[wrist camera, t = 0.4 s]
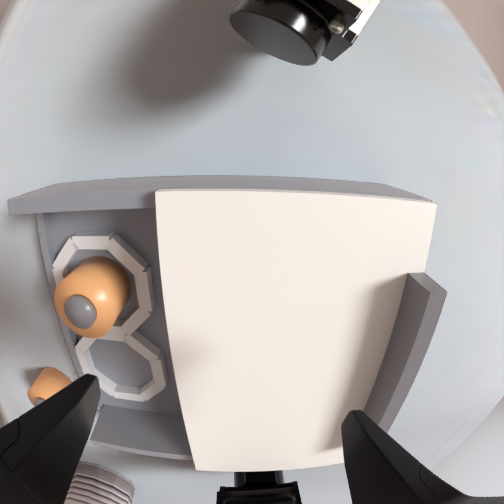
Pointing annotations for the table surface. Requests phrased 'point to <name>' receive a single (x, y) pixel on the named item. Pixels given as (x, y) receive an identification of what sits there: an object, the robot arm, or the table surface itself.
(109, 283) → the orange grey domed knob
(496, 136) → the table surface
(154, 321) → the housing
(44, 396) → the orange grey rounded piece
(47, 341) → the table surface
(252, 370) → the lid
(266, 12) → the pneumatic valve
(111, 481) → the can
